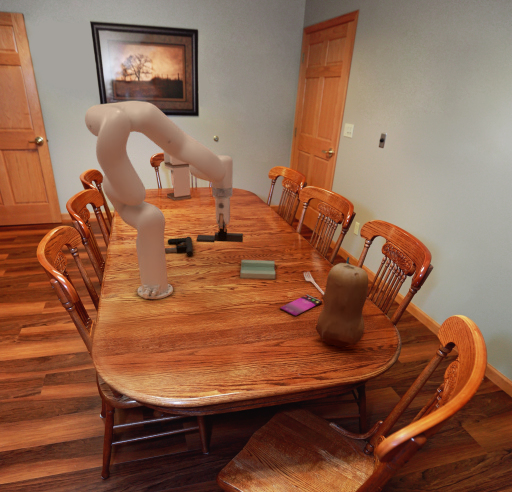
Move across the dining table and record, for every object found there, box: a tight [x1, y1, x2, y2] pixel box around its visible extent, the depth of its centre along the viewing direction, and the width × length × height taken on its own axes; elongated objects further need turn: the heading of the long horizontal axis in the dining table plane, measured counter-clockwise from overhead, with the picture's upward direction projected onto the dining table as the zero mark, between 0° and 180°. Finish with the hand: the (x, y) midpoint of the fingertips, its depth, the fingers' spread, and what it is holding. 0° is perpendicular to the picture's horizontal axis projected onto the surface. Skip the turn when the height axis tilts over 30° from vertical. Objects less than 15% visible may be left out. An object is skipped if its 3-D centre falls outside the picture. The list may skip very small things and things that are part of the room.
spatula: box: [196, 231, 244, 243], centre depth 157 cm, size 18×6×3 cm, turn 90°
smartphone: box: [279, 293, 323, 317], centre depth 141 cm, size 7×15×1 cm, turn 134°
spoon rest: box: [239, 259, 276, 280], centre depth 165 cm, size 14×14×2 cm
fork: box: [303, 271, 325, 296], centre depth 155 cm, size 3×20×2 cm, turn 16°
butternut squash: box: [315, 262, 369, 348], centre depth 115 cm, size 14×13×25 cm
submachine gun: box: [165, 236, 196, 257], centre depth 183 cm, size 3×20×16 cm
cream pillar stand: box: [162, 150, 192, 201], centre depth 253 cm, size 11×11×35 cm
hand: (222, 239), depth 158 cm, fingers closed on spatula, 2 cm apart
